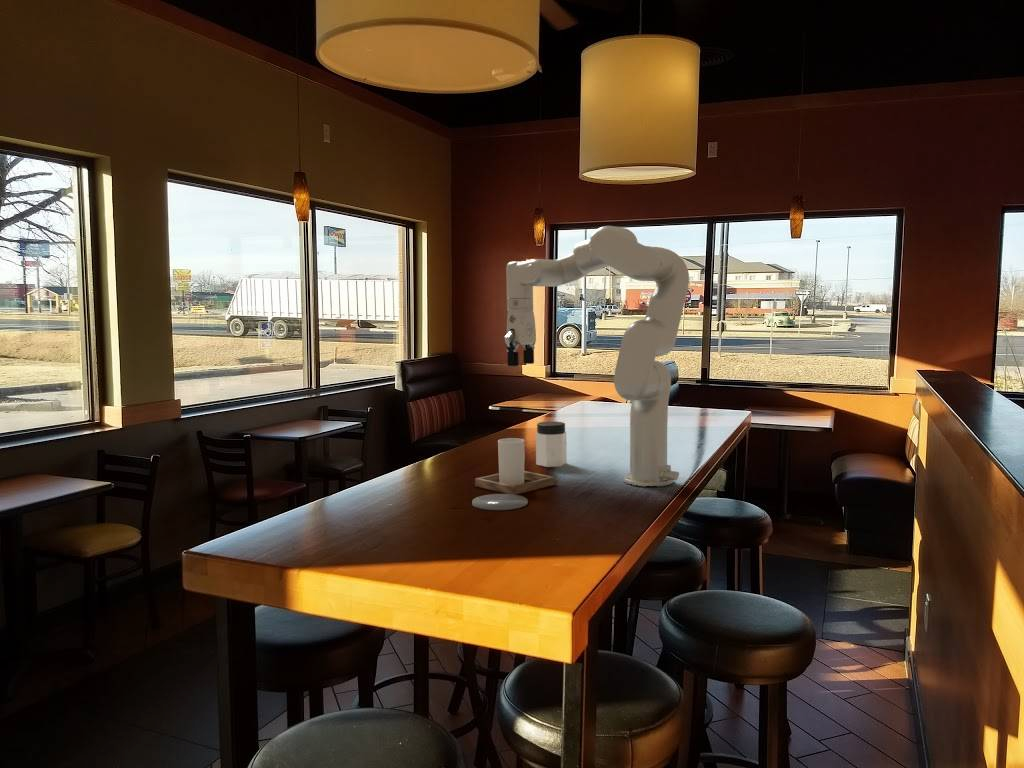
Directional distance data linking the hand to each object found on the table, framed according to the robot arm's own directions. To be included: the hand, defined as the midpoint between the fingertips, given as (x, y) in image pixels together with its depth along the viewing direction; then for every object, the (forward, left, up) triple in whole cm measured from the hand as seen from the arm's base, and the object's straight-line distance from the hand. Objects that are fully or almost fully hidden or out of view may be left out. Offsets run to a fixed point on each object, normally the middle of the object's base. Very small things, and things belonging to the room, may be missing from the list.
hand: (521, 364), depth 220 cm
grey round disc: (-27, +35, -29) cm, 53 cm away
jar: (-6, -6, -29) cm, 30 cm away
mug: (-17, +20, -29) cm, 40 cm away
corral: (-17, +20, -29) cm, 40 cm away
